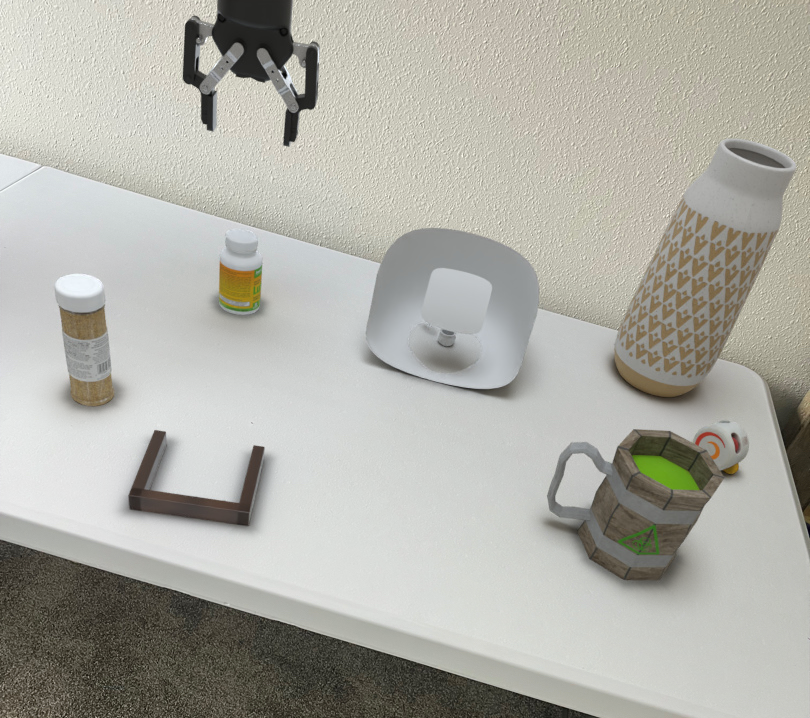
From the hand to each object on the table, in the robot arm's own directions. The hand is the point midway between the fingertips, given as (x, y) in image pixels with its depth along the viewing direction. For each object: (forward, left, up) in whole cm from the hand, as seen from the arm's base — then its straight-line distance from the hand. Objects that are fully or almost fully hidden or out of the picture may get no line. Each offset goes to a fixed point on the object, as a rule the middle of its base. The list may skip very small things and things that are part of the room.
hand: (249, 136), depth 89 cm
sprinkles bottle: (-12, -23, -22) cm, 34 cm away
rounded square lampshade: (+28, 0, -22) cm, 35 cm away
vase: (+58, +1, -22) cm, 62 cm away
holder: (+2, -34, -22) cm, 41 cm away
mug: (+45, -34, -22) cm, 60 cm away
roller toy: (+62, -17, -22) cm, 68 cm away
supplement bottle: (0, +1, -22) cm, 22 cm away
